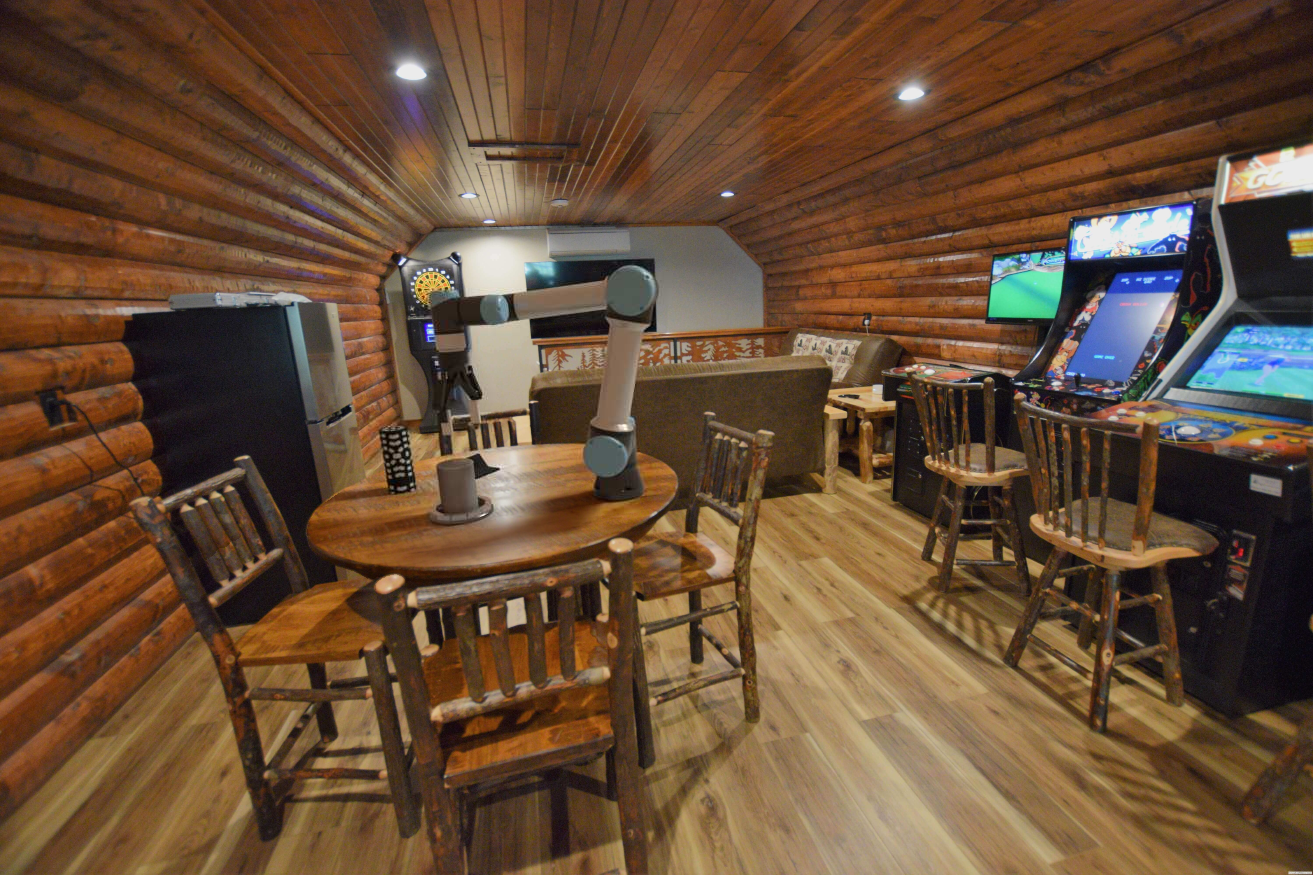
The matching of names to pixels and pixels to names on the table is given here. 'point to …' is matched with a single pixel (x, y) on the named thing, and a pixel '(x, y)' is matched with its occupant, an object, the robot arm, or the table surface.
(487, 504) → the ring plate
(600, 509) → the table surface
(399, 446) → the white-spotted black cylinder
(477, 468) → the handheld gaming console
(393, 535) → the table surface
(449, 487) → the pillar candle
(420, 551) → the table surface
